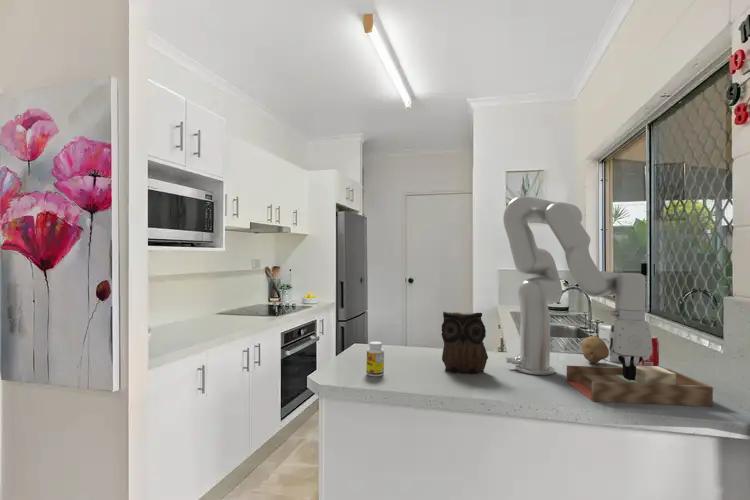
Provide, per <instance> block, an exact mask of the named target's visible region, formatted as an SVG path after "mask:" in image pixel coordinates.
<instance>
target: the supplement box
mask: <svg viewBox="0 0 750 500" xmlns="http://www.w3.org/2000/svg"><path fill="white" fill-rule="evenodd" d="M610 329H611V325H598V337H599V338H601V339H602V340H603V341H604V342H605V344H606V345H607V347H608V349H609V338H610ZM609 355H610V349H609ZM609 355H608V357H607V358H605V359H604V360H605V361H608V362H609V363H621V362H620V361H619V360H618V359H614V358H612V357H610V356H609ZM617 355H618V354H617Z"/></svg>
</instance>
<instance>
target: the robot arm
mask: <svg viewBox="0 0 750 500" xmlns="http://www.w3.org/2000/svg"><path fill="white" fill-rule="evenodd" d="M503 212H504V213H503V218H502V219H503V226H504V229H505V233H506V236H507V238H508V243H509V248H510V251H511V256H512V258H513V262H514V266H515V269H516V270H517V272H518V273H520V274H521V275H526V276H527V275H529V276H531V278H528V279H525V280H523V281H522V282H521V283H520V285H519V287H518V292H517V293H518V302H519V311H520V328H519V329H520V333H519V335H520V340H519V354H517V356H514V357H511V356H510V357H509V356H506V357H505V363H506V364H511V365H514V368H515V370H516V371H518V372H521V373H524V374H529V375H536V376H537V375H538V376H548V375H553V374H554V373H555V368H554V367H553V366H551V363H550V360H551V359H550V357H551V356H550V355H551V354H550V351H551V344H550V343H551V315H550V309H549V305H552V304H555V303H557V302H558V301H560V299H561V298H562V295H563V286H562V283H561V282H562V281H561V280H560V279H561V278H560V275H559V273H558V268H557V265H556V264H557V263H556V261H555V259H554V256H553V255H552V254H551V252H549V251H548V250H547V249H544V248H540V247H538V246H537V243H536V240H535V235H534V233H533V231H532V230H531V229H532V228H531V227H530V226H529V223H528V222H532V223H537V224H538V223H539V224H543V225H547V226H549V228H550V230H551V231H552V233H553V234H554V236H555V238H556V239H557V241H558V243H559V244H560V246H561V247H562V250H564V254H565V255H564V256H565V260H566V264H567V265H566V266H567V267H568V270H569V272H570V274H571V275H572V277H573V279H574V280H575V283H576V284H577V285H578V287H579V289H581V291H582V292H583V293H584V294H586V295H587V296H589V297H594V298H595V297H596V298H598V297H608V296H614V300H615V301H614V304H615V305H614V309H613V311H610V316H613V317H614V318H613V319H612V322H611V325H610V326H611V329H610V338H609V349H610V355H609V356H610V357H612V358H614V359H618V360H619V361H620V362H619V363H620V364H621V365H622V367H623V376H624V378H625V379H627V380H635V377H636V367H637V366H638V364H639V363H640V362H641V361H642V360H647V359H649V358H650V355H651V354H652V339H651V335H652V333H651V327H650V323H649V321H648V320H646V291H647V290H646V285H647V284H646V281H647V280H646V276H645V275H644V274H642V273H636V272H620V273H619V272H613V271H605V270H604V271H603V270H601V271H600V269H599V268H598V266H597V265H596V264H595V262H594V260H593V258H592V256H591V254H590V250H589V249H590V244H591V236H590V235H589V233H588V232H587V231H586V229H585V227H584V226H583V225H582V220H583V214H582V211H581V209H580V208H579V207H578V206H576V205H574V204H571V203H567V202H563V201H558V202H556V201H551V200H547V199H541V198H538V197H533V196H527V195H522V196H516V197H515V198H513V199H511V200H510V201H509V203H508V204H507V205H506V207H505V209H504V211H503ZM617 354H618V355H617Z"/></svg>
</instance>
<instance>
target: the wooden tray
mask: <svg viewBox="0 0 750 500" xmlns="http://www.w3.org/2000/svg"><path fill="white" fill-rule="evenodd" d="M665 369H666V370H668V371H670V372H673V373H675V374H676V385H671V384H643V383H637V382H635V381H633V380H627V379H625V378H624V376H623V366H621V367H620V366H618V367H617V366H594V365H592V366H591V365H590V366H589V365H566V383H568V384H569V385H570V386H572V387H573V388H574V389H576V390H577V391H579V392H580V393H581V394H583V395H584V396H585V397H586V398H588V399H589V400H591V401H592V402H601V403H604V402H606V403H629V404H631V403H632V404H654V405H656V404H657V405H679V406H701V405H702V406H703V407H704V406H705V407H707V406H708V407H712V406H714V405H713V403H714V401H713V400H714V398H713V397H714V392H713V391H714V387H713V386H711V385H709V384H706V383H704V382H701V381H699V380H697V379H694V378H692V377H689V376H687V375H685V374H682V373H680V372H678V371H675V370H673V369H671V368H665ZM711 405H712V406H711Z"/></svg>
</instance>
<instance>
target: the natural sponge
mask: <svg viewBox="0 0 750 500" xmlns="http://www.w3.org/2000/svg"><path fill="white" fill-rule="evenodd" d="M581 350H582V355H583V357H584V359H586V360H587V361H588V362H589V363H590V364H597V363H599V362H600V361H602V360H605V358H607V357H608V355H609V349H608V347H607V345H606V344H605V342H604V341H603V340H602V339H601V338H599V336H596V335H593V336H586V337H585V338H584V339H583V340H582V342H581Z"/></svg>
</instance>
